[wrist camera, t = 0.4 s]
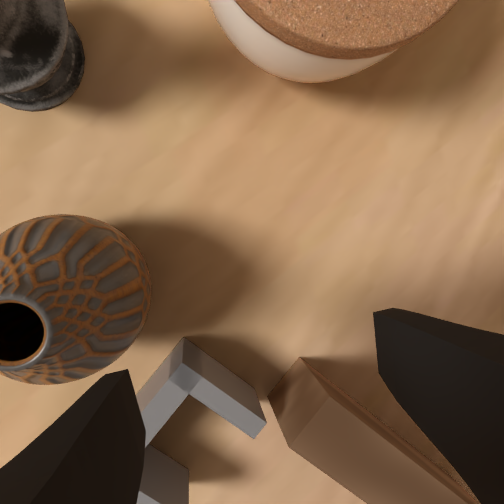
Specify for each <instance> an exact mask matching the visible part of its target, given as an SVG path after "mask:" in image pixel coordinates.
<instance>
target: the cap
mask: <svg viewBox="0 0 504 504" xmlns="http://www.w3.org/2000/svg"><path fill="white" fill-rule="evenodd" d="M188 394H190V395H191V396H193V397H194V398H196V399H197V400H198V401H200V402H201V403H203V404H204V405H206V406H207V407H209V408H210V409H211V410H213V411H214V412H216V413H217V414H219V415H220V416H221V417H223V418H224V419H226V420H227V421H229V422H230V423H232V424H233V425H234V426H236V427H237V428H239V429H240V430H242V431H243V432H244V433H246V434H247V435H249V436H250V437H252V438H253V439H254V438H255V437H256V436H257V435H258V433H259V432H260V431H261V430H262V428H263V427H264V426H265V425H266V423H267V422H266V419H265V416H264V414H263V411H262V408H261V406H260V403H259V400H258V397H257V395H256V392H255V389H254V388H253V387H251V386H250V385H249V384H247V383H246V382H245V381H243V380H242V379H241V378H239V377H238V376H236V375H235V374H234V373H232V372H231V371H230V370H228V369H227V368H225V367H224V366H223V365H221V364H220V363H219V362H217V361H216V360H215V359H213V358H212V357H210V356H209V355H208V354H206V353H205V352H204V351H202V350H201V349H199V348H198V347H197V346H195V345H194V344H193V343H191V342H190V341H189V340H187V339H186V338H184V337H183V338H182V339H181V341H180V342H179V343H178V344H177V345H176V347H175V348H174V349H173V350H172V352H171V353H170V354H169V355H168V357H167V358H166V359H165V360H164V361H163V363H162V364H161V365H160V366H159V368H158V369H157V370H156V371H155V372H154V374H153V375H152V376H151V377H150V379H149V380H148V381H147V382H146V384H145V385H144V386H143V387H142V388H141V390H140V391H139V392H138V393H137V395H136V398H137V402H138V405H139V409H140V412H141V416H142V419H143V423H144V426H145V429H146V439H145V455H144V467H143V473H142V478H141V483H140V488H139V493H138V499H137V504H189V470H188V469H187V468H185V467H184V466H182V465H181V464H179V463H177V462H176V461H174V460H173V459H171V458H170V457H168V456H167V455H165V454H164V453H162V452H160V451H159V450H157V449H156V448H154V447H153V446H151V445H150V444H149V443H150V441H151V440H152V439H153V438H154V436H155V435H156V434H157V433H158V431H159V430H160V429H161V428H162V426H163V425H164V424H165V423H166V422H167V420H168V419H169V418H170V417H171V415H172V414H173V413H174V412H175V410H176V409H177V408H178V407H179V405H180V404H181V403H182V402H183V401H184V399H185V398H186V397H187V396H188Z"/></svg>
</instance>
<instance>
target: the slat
mask: <svg viewBox="0 0 504 504" xmlns="http://www.w3.org/2000/svg"><path fill="white" fill-rule="evenodd" d="M267 397H268V400H269V402H270V404H271V407H272V409H273V411H274V414H275V416H276V418H277V421H278V423H279V425H280V428H281V430H282V432H283V435H284V437H285V439H286V442H287V444H288V446H289V448H291V449H292V450H293V451H295V452H296V453H298V454H299V455H300V456H302V457H303V458H304V459H306V460H307V461H309V462H310V463H311V464H313V465H314V466H316V467H317V468H318V469H320V470H321V471H323V472H324V473H325V474H327V475H328V476H330V477H331V478H332V479H334V480H335V481H336V482H338V483H339V484H341V485H342V486H343V487H345V488H346V489H348V490H349V491H350V492H352V493H353V494H355V495H356V496H357V497H359V498H360V499H362V500H363V501H364V502H366V503H367V504H478V503H477V502H476V501H475V500H474V499H473V498H472V497H471V496H470V495H469V494H468V493H467V492H466V491H465V490H464V489H463V488H462V487H461V486H460V485H459V484H458V483H457V482H456V481H455V480H454V479H453V478H452V477H451V476H450V475H448V474H447V473H446V472H445V471H443V470H442V469H441V468H439V467H438V466H437V465H436V464H434V463H433V462H432V461H431V460H429V459H428V458H427V457H425V456H424V455H423V454H422V453H420V452H419V451H418V450H417V449H415V448H414V447H413V446H412V445H410V444H409V443H408V442H406V441H405V440H404V439H403V438H401V437H400V436H399V435H398V434H396V433H395V432H394V431H393V430H391V429H390V428H389V427H387V426H386V425H385V424H384V423H382V422H381V421H380V420H379V419H377V418H376V417H375V416H373V415H372V414H371V413H370V412H368V411H367V410H366V409H365V408H363V407H362V406H361V405H360V404H358V403H357V402H356V401H354V400H353V399H352V398H351V397H349V396H348V395H347V394H346V393H344V392H343V391H342V390H341V389H339V388H338V387H337V386H335V385H334V384H333V383H332V382H330V381H329V380H328V379H327V378H325V377H324V376H323V375H321V374H320V373H319V372H318V371H316V370H315V369H314V368H313V367H311V366H310V365H309V364H308V363H306V362H305V361H304V360H302V359H301V358H300V357H299V358H298V359H297V361H296V362H295V363H294V364H293V366H292V367H291V368H290V369H289V370H288V372H287V373H286V374H285V375H284V377H283V378H282V379H281V380H280V382H279V383H278V384H277V385H276V386H275V388H274V389H273V390H272V391H271V393H270V394H269V395H268V396H267Z"/></svg>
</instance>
